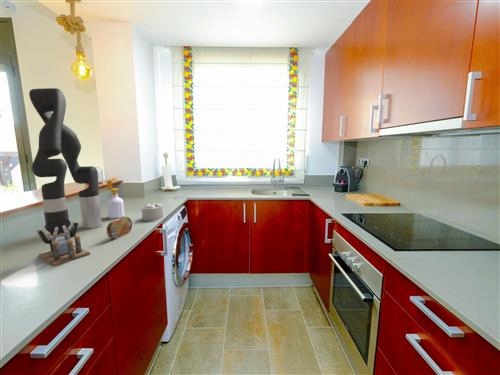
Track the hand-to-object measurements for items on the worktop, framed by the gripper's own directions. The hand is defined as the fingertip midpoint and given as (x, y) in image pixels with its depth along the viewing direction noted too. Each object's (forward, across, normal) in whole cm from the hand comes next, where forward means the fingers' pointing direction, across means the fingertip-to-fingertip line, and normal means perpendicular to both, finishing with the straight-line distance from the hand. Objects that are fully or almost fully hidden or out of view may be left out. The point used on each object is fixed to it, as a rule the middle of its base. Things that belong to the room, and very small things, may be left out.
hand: (61, 249), depth 102 cm
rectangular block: (0, 0, 0) cm, 0 cm away
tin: (+2, +25, +1) cm, 25 cm away
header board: (+2, 0, -2) cm, 3 cm away
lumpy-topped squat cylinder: (+2, +55, +16) cm, 57 cm away
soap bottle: (+2, +43, +38) cm, 57 cm away
